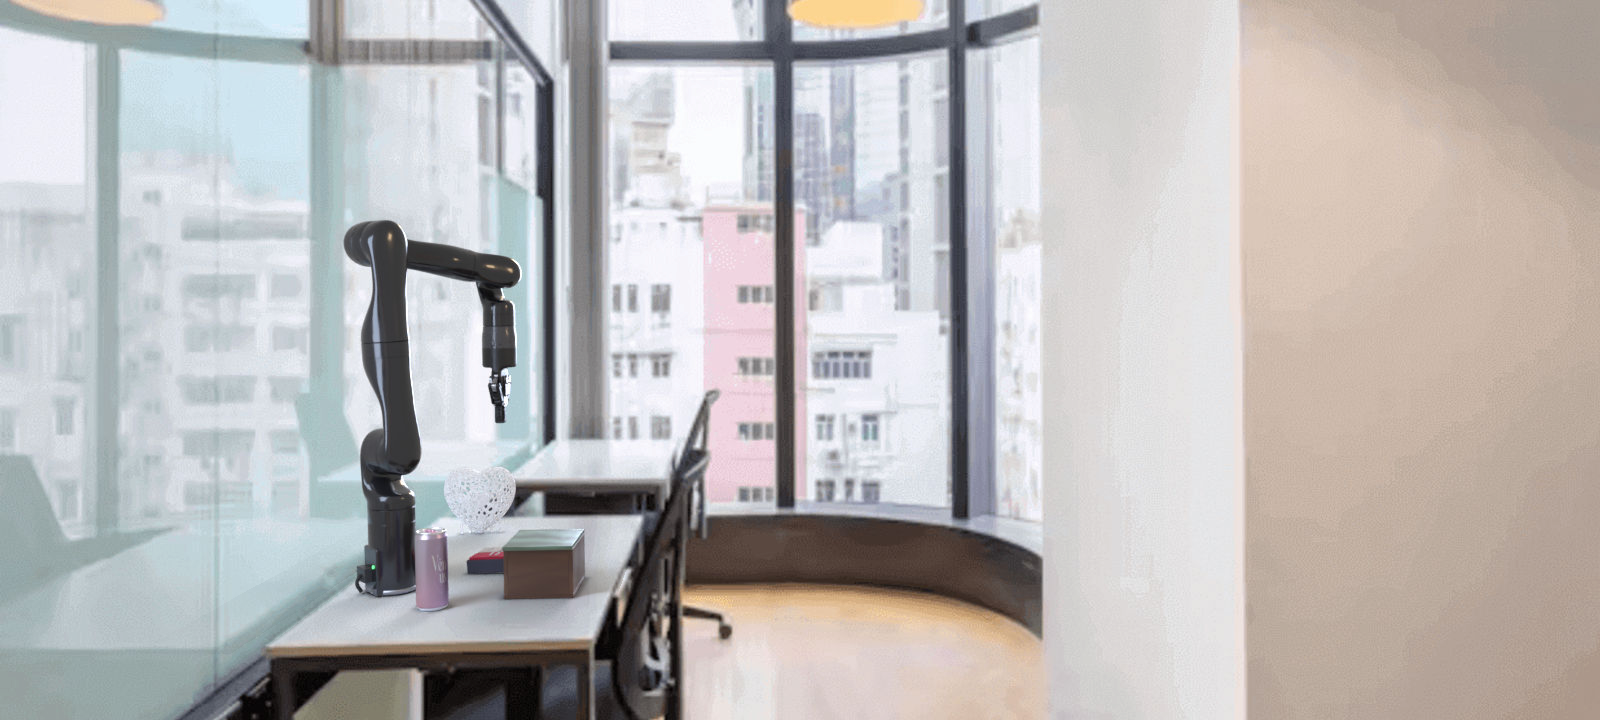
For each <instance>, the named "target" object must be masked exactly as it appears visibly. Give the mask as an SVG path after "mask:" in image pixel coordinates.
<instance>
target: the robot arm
mask: <svg viewBox="0 0 1600 720" xmlns="http://www.w3.org/2000/svg"><path fill="white" fill-rule="evenodd" d="M343 249H344V252H345V254H346V256H347V257H348V258H349V260H351V261H352V262H353V263H355V264H357V265H359V266H361V267H366V268H370V270H371V280H372V281H371V282H372V290H371V291H372V292H371V296H370V297H371V298H370V302H369V303H368V304H369V305H368V307H367V310H366V313H365V316H364V319H363V322H362V325H361V329H360V347H361V348H360V350H361V361H362V367H363V370H364V373H365V375H366V378H367V380H368V383H369V384H370V386H371V388H372V390H373V392H374V394H375V396H376V398H377V401H378V403H379V406H380V407H379V408H380V411H381V418H382V419H381V420H382V427H378V428H375V429H373V430H370V431H369V432H368V433H367V434H366V435H365V437H364V438H363V440H362V442H361V445H360V451H359V452H360V453H359V465H360V478H361V490H362V494H363V497H364V498H365V501H366V513H367V544H365V545H364V547H363V548H364V549H363V552H364V553H363V554H364V564H362V565H361V564H360V565H356V578H355V580H354V586H355V588H356V590H357V592H359V594H360V593H361V594H362V593H363V592H364V590H363V588H362V587H361V585H360V582H361V583H363V584H364V589H365V592H366V593H369V594H371V595H373V596H375V597H383V596H398V595H403V594H407V593H411V592H413V591H416V578H415V535H416V531H417V529H416V528H417V523H416V521H417V519H416V494H415V492H414V491H413V490H412V489H411V488H410V487H409V486H408V485H407V483H406V482H405V480H404V476H407V475H410V474H411V473H413V472H414V471H415V470H416V469H417V468H418V466H419V465H420V462H421V458H422V453H423V452H422V450H423V449H422V440H421V439H422V438H421V433H420V428H419V423H418V417H417V411H416V405H415V404H416V403H415V395H414V384H413V374H412V351H411V338H410V337H411V336H410V329H409V328H410V327H409V313H408V312H409V311H408V295H407V293H408V292H407V290H408V289H407V287H408V285H407V281H408V280H407V279H408V270H412V271H417V272H421V273H425V274H430V275H434V276H437V277H443V278H446V279H451V280H456V281H459V282H465V283H475V286H476V290H477V293H478V298H479V301H480V303H481V308H482V332H481V356H482V357H481V360H482V361H481V362H482V364H481V365H482V367H483V368H486V369H491V372H490V375H489V377H488V384H487V388H488V389H487V390H488V393H489V398H490V403H491V405H493V407H494V423H496V424H505V423H506V422H507V406H508V403H510V396H511V388H512V379H511V375H510V374H509V368H515V367H517V365H518V350H517V349H518V347H517V346H518V345H517V344H518V343H517V330H516V308H515V307H516V306H515V304H514V302H513V301H511V300H509V299H506V298H505V295H504V293H503V289H506V290H507V289H512V288H513V287H515V286H517V285H518V284H519V283H520V281H521V279H522V274H523V272H522V268H521V266H520V264H519V263H518V262H517V260H515V259H514V258H511V257H509V256H505V255H502V254H501V255H500V254H493V253H485V252H479V251H474V250H471V249H468V248H464V247H459V246H456V245H451V244H445V243H437V242H428V241H420V240H414V239H409V238H407V235H406V233H405V231H404V229H403V228H402V227H401V226H400V224H398V223H397V222H396V221H394V220H391V219H378V220H367V221H366V220H365V221H361V222H358V223H355V224H353V225H351V226H350V227H349V228H348V229H347V231H346V232H345V234H344V237H343Z"/></svg>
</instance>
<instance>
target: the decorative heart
mask: <svg viewBox="0 0 1600 720" xmlns="http://www.w3.org/2000/svg"><path fill="white" fill-rule="evenodd" d="M497 476H498V477H497ZM462 483H463V484H462ZM467 488H468V489H469V490H468V489H467ZM504 489H505V490H504ZM516 490H517V485H516V480H515V477H514V475H513V474H512V472H511V471H509V470H508V469H507V468H505V467H502V466H489V467H487V468H484V470H482V471H480V470H477V469H475V468H472V467H467V466H460V467H457V468H455V469H453V470H450V472H449V473H448V474H447V476H446V478H445V480H444V484H443V494H444V499H445V501H446V503H447V506H448V507H449V509H450V510H451V512H452V513H453V515H454V516H455V517H456V518H457V519H458V520H460V521H461V523H460V535H464V525H465V526H467V527H468V534H472V530H473V531H474V532H476V533H477V534H483V533H486V531H487V530H488V529H489V533H491V534H492V533H494V532H493V526H494V525H496V524H497V523H498V533H502V521H501V519H502V518H503V517H504V516H505V514H507V512H508V511H509V510H510V508H511V506H512V504H513V502H514V499H515V497H516ZM465 493H466V494H465ZM494 494H495V495H494ZM491 499H492V501H490V500H491ZM490 509H491V510H490ZM484 513H485V514H484Z"/></svg>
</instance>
